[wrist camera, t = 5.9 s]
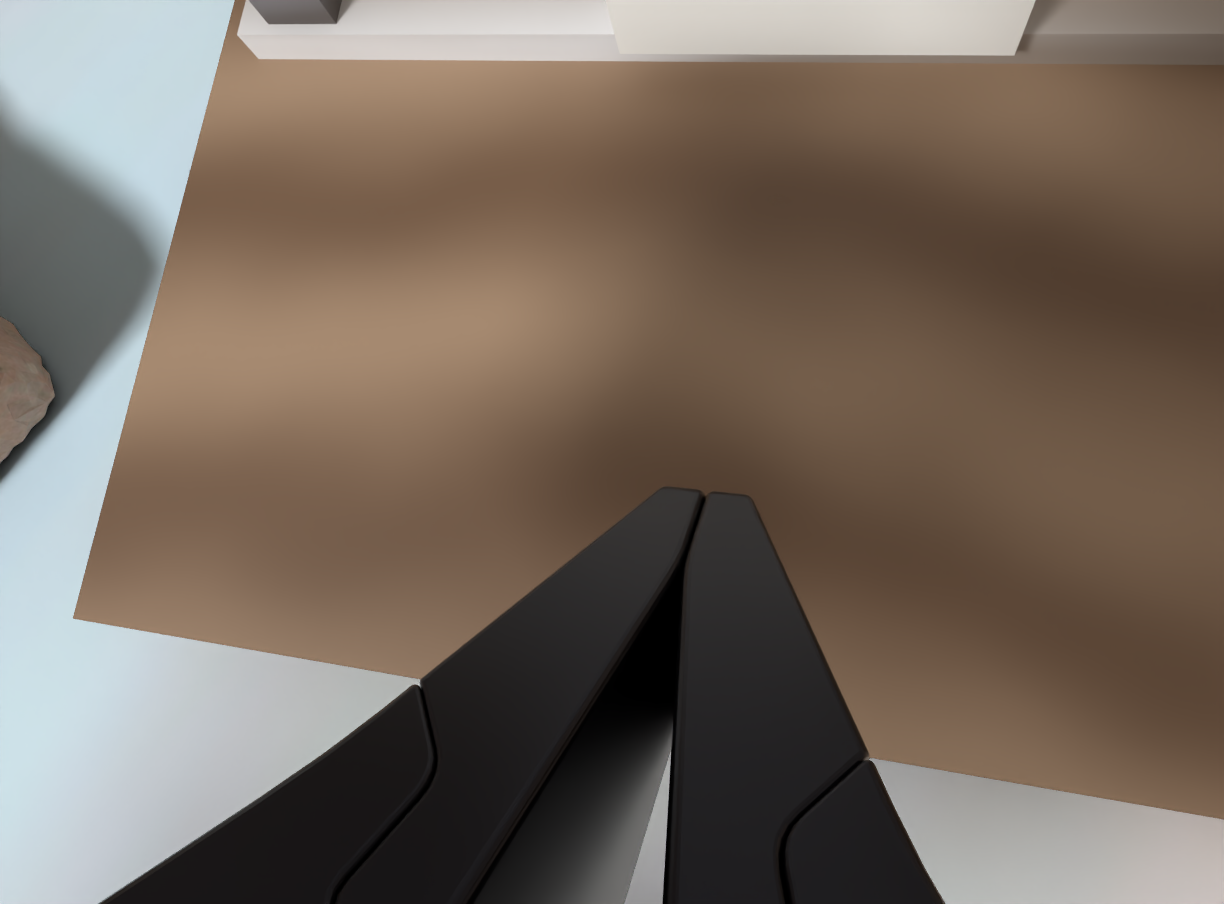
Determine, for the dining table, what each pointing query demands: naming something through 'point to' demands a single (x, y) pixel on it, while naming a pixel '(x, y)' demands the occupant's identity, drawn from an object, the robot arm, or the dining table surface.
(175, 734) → the dining table surface
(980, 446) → the board
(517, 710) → the robot arm
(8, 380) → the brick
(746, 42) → the relay module
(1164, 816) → the dining table surface
